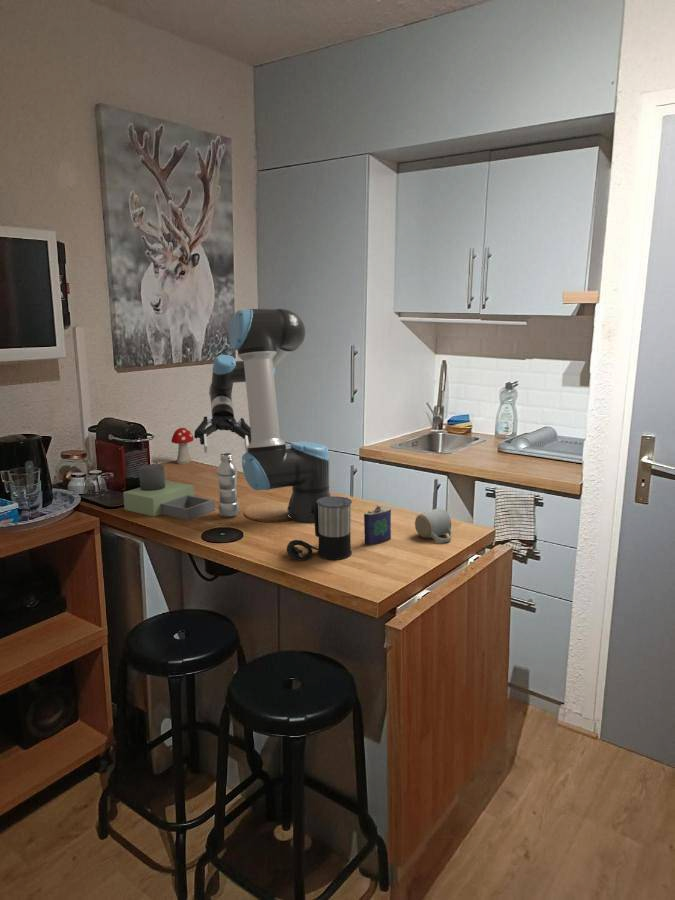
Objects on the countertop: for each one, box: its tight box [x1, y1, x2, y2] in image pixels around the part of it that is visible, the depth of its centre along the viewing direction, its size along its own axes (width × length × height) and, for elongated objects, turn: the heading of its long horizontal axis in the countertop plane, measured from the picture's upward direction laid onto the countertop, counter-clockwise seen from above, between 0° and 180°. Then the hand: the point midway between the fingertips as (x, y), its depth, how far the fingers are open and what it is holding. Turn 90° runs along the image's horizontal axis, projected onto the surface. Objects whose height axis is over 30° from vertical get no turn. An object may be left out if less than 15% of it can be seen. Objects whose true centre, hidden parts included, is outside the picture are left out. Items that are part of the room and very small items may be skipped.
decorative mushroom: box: [171, 427, 195, 465], centre depth 285 cm, size 10×9×15 cm
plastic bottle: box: [216, 452, 240, 518], centre depth 211 cm, size 6×7×20 cm
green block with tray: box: [122, 463, 216, 521], centre depth 220 cm, size 26×18×13 cm
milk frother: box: [286, 495, 353, 560], centre depth 178 cm, size 14×16×15 cm
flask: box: [363, 504, 392, 546], centre depth 188 cm, size 9×3×11 cm, turn 127°
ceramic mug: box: [414, 507, 453, 544], centre depth 191 cm, size 11×8×8 cm
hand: (227, 450), depth 219 cm, fingers open, 13 cm apart
